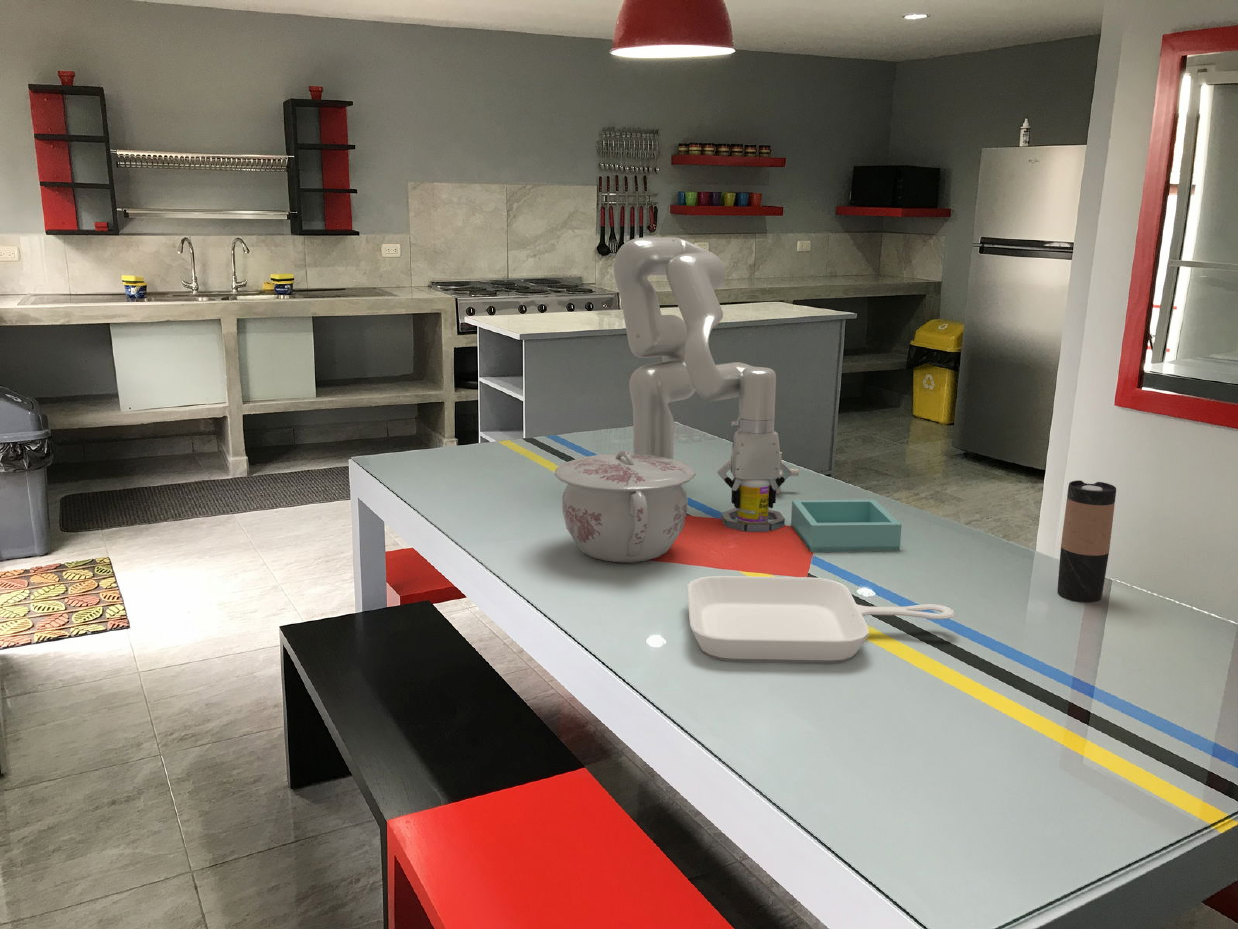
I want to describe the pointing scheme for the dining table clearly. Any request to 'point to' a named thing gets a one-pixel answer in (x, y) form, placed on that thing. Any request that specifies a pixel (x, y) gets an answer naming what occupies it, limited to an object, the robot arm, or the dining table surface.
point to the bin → (845, 525)
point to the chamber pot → (624, 504)
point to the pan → (783, 619)
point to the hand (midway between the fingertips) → (753, 506)
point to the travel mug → (1086, 540)
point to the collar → (752, 527)
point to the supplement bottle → (754, 501)
